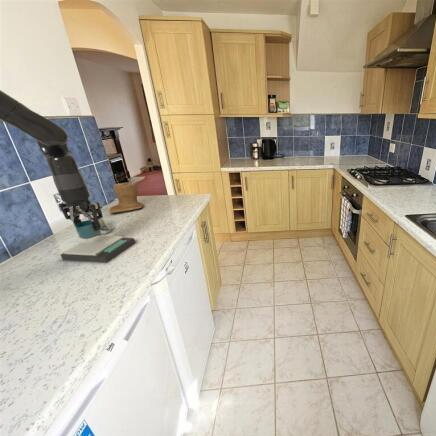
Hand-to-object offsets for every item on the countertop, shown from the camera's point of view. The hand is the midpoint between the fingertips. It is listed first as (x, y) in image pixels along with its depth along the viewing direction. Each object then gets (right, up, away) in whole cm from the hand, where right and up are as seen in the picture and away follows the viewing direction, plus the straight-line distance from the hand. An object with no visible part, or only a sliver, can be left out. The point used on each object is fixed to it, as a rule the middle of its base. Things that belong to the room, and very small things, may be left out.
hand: (89, 229), depth 89 cm
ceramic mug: (-11, -3, +18) cm, 22 cm away
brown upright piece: (-16, +9, +45) cm, 48 cm away
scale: (+2, -8, +4) cm, 9 cm away
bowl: (0, -2, +1) cm, 2 cm away
